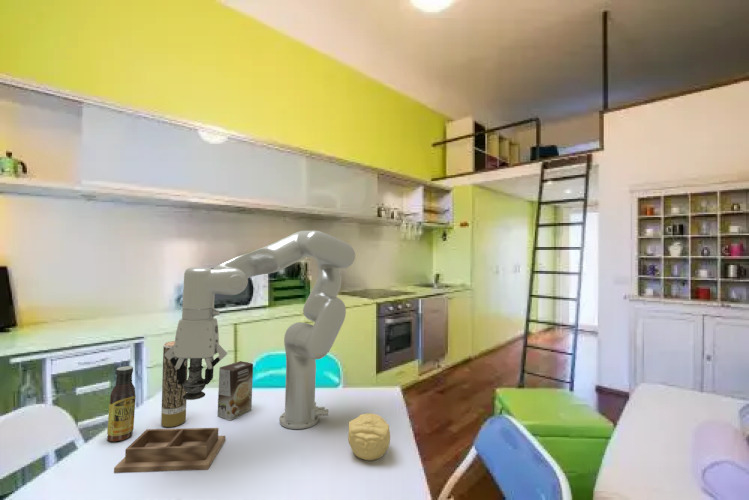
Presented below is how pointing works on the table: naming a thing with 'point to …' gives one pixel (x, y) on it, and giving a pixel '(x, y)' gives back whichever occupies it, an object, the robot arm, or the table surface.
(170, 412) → the paper tube
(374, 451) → the sculpture
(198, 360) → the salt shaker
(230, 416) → the coffee box
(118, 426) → the sauce bottle
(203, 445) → the condiment rack
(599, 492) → the table surface
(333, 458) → the table surface
